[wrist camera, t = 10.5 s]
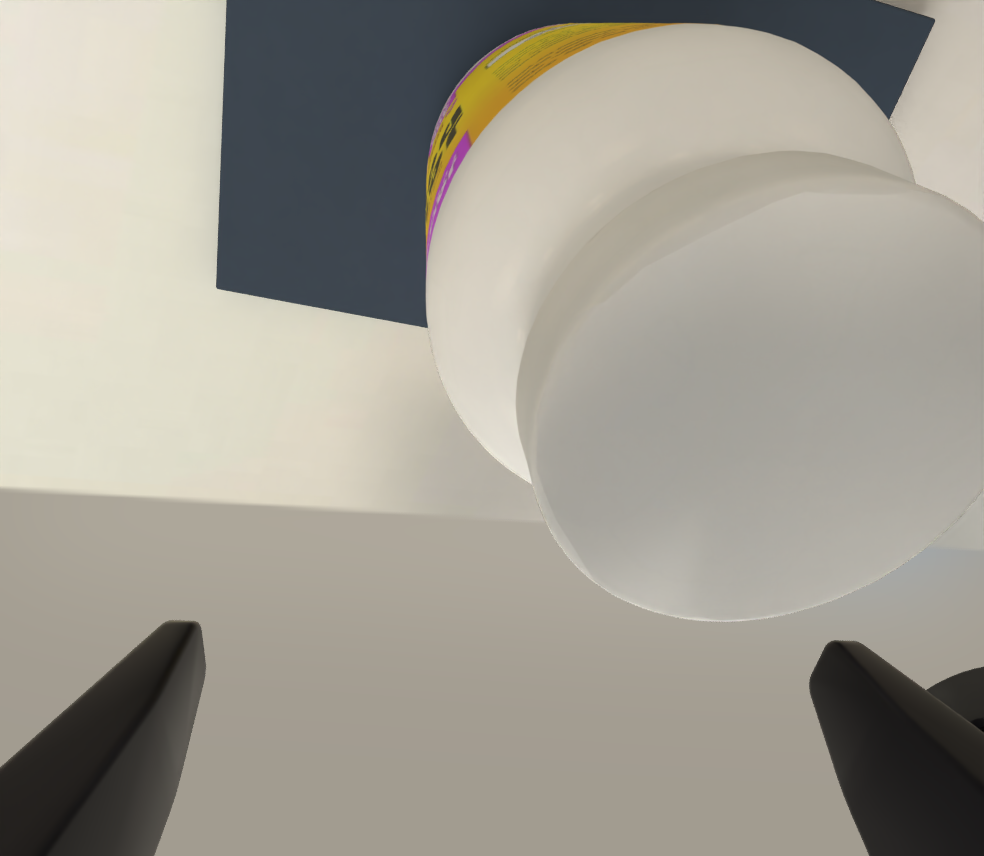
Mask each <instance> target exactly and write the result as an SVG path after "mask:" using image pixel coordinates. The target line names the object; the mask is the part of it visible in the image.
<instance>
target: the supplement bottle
mask: <svg viewBox="0 0 984 856" xmlns="http://www.w3.org/2000/svg"><path fill="white" fill-rule="evenodd" d="M425 211H426V316H427V324H428V332H429V338H430V343H431V348H432V353H433V356H434V360H435V363H436V366H437V370H438V373H439V375H440V378H441V381H442V384H443V386H444V388H445V390H446V393H447V395H448V397H449V399H450V401H451V403H452V405H453V407H454V408H455V410H456V412H457V413H458V415H459V416H460V418H461V419H462V421H463V422H464V424H465V425H466V427H467V428H468V429H469V431H470V432H471V433H472V435H473V436H474V437H475V438H476V439H477V440H478V441H479V442H480V444H481V445H482V446H483V447H484V448H485V449H486V450H487V451H488V452H489V453H490V454H491V455H492V456H493V457H494V458H495V459H496V460H498V461H499V462H500V463H501V464H503V465H504V466H505V467H506V468H508V469H509V470H510V471H512V472H513V473H515V474H516V475H518V476H519V477H521V478H522V479H524V480H525V481H527V482H529V483H530V484H532V485H533V489H534V493H535V496H536V499H537V502H538V505H539V508H540V510H541V512H542V515H543V517H544V519H545V522H546V524H547V526H548V528H549V530H550V532H551V534H552V536H553V537H554V539H555V541H556V542H557V543H558V545H559V546H560V547H561V549H562V550H563V551H564V553H565V554H566V555H567V557H568V558H569V559H570V560H571V561H572V562H573V564H574V565H575V566H576V567H577V568H578V569H579V570H580V571H581V572H583V573H584V574H585V575H586V576H587V577H588V578H589V579H590V580H591V581H593V582H594V583H596V584H597V585H599V586H600V587H602V588H603V589H605V590H606V591H608V592H609V593H610V594H612V595H614V596H616V597H618V598H620V599H622V600H624V601H626V602H628V603H631V604H633V605H636V606H639V607H641V608H644V609H646V610H650V611H653V612H656V613H660V614H664V615H669V616H673V617H677V618H682V619H690V620H698V621H709V622H711V621H713V622H714V621H715V622H736V621H747V620H758V619H765V618H771V617H777V616H782V615H787V614H791V613H795V612H798V611H802V610H805V609H808V608H811V607H815V606H818V605H821V604H824V603H828V602H830V601H833V600H835V599H837V598H840V597H842V596H845V595H847V594H849V593H851V592H854V591H856V590H858V589H860V588H863V587H865V586H867V585H869V584H871V583H873V582H876V581H878V580H879V579H881V578H883V577H884V576H886V575H887V574H889V573H891V572H892V571H893V570H895V569H897V568H899V567H900V566H902V565H903V564H904V563H906V562H907V561H909V560H910V559H912V558H913V557H914V556H916V555H917V554H918V553H920V552H921V551H923V550H924V549H925V548H926V547H928V546H929V545H930V544H931V543H932V542H933V541H934V540H936V539H937V538H938V537H939V536H940V535H941V534H943V533H944V532H945V531H946V530H947V529H948V528H950V527H951V526H952V525H953V524H954V523H955V522H956V521H957V520H958V519H959V518H960V517H961V516H962V514H963V513H964V512H965V511H966V510H967V509H968V508H969V507H970V505H971V504H972V503H973V502H974V501H975V500H976V498H977V497H978V496H979V494H980V493H981V492H982V490H983V489H984V222H983V221H981V220H980V219H979V218H978V217H977V216H975V215H974V214H973V213H972V212H971V211H969V210H968V209H966V208H965V207H963V206H961V205H960V204H958V203H956V202H955V201H953V200H951V199H950V198H948V197H946V196H944V195H942V194H939V193H937V192H934V191H932V190H929V189H927V188H925V187H922V186H920V185H917V184H916V183H915V179H914V175H913V171H912V168H911V166H910V163H909V160H908V158H907V155H906V152H905V150H904V147H903V145H902V143H901V141H900V139H899V137H898V135H897V133H896V131H895V130H894V128H893V126H892V125H891V123H890V122H889V120H888V119H887V117H886V116H885V114H884V113H883V112H882V111H881V109H880V108H879V107H878V106H877V104H876V103H875V102H874V101H873V100H872V98H871V97H870V96H869V95H868V94H867V93H866V92H865V91H864V90H863V89H862V88H861V87H860V85H859V84H858V83H857V82H856V81H854V80H853V79H852V78H851V77H850V76H848V75H847V74H846V73H845V72H844V71H842V70H841V69H840V68H839V67H837V66H836V65H834V64H833V63H831V62H830V61H828V60H827V59H825V58H823V57H822V56H820V55H818V54H817V53H815V52H813V51H811V50H809V49H807V48H806V47H804V46H802V45H800V44H798V43H796V42H794V41H791V40H788V39H785V38H782V37H779V36H776V35H773V34H770V33H766V32H762V31H757V30H753V29H747V28H741V27H734V26H724V25H718V24H698V23H568V24H557V25H551V26H545V27H541V28H537V29H533V30H530V31H527V32H525V33H522V34H520V35H517V36H515V37H513V38H512V39H510V40H508V41H506V42H504V43H503V44H501V45H499V46H498V47H496V48H495V49H493V50H492V51H490V52H489V53H488V54H487V55H485V56H484V57H483V58H482V59H480V60H479V61H478V62H477V63H476V64H475V65H474V66H473V67H472V68H471V69H470V70H469V71H468V72H467V73H466V75H465V76H464V77H463V78H462V79H461V81H460V82H459V83H458V84H457V86H456V87H455V89H454V90H453V92H452V93H451V95H450V97H449V98H448V100H447V102H446V104H445V106H444V108H443V110H442V112H441V114H440V116H439V119H438V121H437V124H436V126H435V130H434V133H433V136H432V140H431V144H430V150H429V156H428V163H427V178H426V209H425Z"/></svg>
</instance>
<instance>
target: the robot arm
mask: <svg viewBox="0 0 984 856" xmlns="http://www.w3.org/2000/svg"><path fill="white" fill-rule="evenodd" d="M205 670H206V663H205V654H204V646H203V638H202V630H201V627H200V625H199V623H198V622H196V621H181V620H169V621H167V622H165V623H163V624H162V625H161V626H160V627H158V628H157V629H156V630H155V631H154V632H153V633H151V635H150V636H148V637H147V638H146V639H145V640H144V641H142V642H141V643H140V644H139V645H138V646H137V647H136V648H135V649H133V650H132V651H131V652H130V653H129V654H128V655H127V656H126V657H124V658H123V659H122V660H121V661H120V662H119V663H118V664H116V665H115V666H114V667H113V668H112V669H111V670H110V671H109V672H107V673H106V674H105V675H104V676H103V677H102V678H101V679H100V680H98V681H97V682H96V683H95V684H94V685H93V686H92V687H90V688H89V689H88V690H87V691H86V692H85V693H84V694H83V695H81V696H80V697H79V698H78V699H77V700H76V701H75V702H74V703H72V705H70V706H69V707H68V708H67V709H66V710H65V711H63V712H62V713H61V714H60V715H59V716H58V717H57V718H56V719H54V720H53V721H52V722H51V723H50V724H49V725H48V726H47V727H45V728H44V729H43V730H42V731H41V732H40V733H39V734H37V735H36V736H35V737H34V738H33V739H32V740H31V741H30V742H28V743H27V744H26V745H25V746H24V747H23V748H22V749H21V750H20V751H18V752H17V753H16V754H15V755H14V756H13V757H11V758H10V759H9V760H8V761H7V762H6V763H5V764H4V765H2V766H1V767H0V856H154V855H155V852H156V849H157V846H158V844H159V841H160V838H161V836H162V833H163V830H164V827H165V825H166V822H167V819H168V816H169V814H170V811H171V808H172V804H173V802H174V799H175V796H176V792H177V788H178V785H179V781H180V777H181V773H182V769H183V765H184V761H185V757H186V753H187V749H188V745H189V741H190V736H191V733H192V728H193V724H194V720H195V716H196V712H197V708H198V704H199V700H200V696H201V692H202V688H203V684H204V679H205ZM809 689H810V694H811V698H812V701H813V704H814V707H815V710H816V713H817V716H818V719H819V723H820V726H821V729H822V732H823V735H824V738H825V741H826V744H827V747H828V750H829V753H830V756H831V760H832V763H833V765H834V769H835V772H836V775H837V778H838V781H839V784H840V786H841V789H842V792H843V795H844V797H845V800H846V802H847V805H848V807H849V810H850V812H851V815H852V817H853V819H854V822H855V824H856V826H857V828H858V831H859V833H860V835H861V838H862V840H863V842H864V844H865V847H866V849H867V852H868V854H869V856H984V718H977V719H974V720H972V721H970V722H969V721H967V720H966V719H965V718H963V717H962V716H961V715H959V714H958V713H956V712H955V711H954V710H952V709H951V708H950V707H948V706H947V705H945V704H944V703H943V702H941V701H940V700H939V699H937V698H936V697H934V696H933V695H932V694H930V693H929V692H928V691H926V690H925V689H923V688H922V687H921V686H919V685H918V684H917V683H915V682H914V681H913V680H911V679H910V678H908V677H907V676H906V675H904V674H903V673H902V672H900V671H899V670H897V669H896V668H895V667H893V666H892V665H890V664H889V663H888V662H886V661H885V660H884V659H882V658H881V657H879V656H878V655H877V654H875V653H874V652H873V651H871V650H870V649H868V648H867V647H866V646H864V645H863V644H861V643H859V642H856V641H838V640H834V641H831V642H829V643H828V644H827V645H826V646H825V648H824V650H823V652H822V654H821V656H820V658H819V660H818V662H817V665H816V667H815V668H814V671H813V672H812V674H811V677H810V682H809Z"/></svg>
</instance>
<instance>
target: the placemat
mask: <svg viewBox="0 0 984 856" xmlns="http://www.w3.org/2000/svg"><path fill="white" fill-rule="evenodd" d="M568 23H698V24H718V25H724V26H734V27H741V28H747V29H753V30H757V31H762V32H766V33H770V34H773V35H776V36H779V37H782V38H785V39H788V40H791V41H794V42H796V43H798V44H800V45H802V46H804V47H806V48H807V49H809V50H811V51H813V52H815V53H817V54H818V55H820V56H822V57H823V58H825V59H827V60H828V61H830V62H831V63H833V64H834V65H836V66H837V67H839V68H840V69H841V70H842V71H844V72H845V73H846V74H847V75H848V76H850V77H851V78H852V79H853V80H854V81H856V82H857V83H858V84H859V85H860V87H861V88H862V89H863V90H864V91H865V92H866V93H867V94H868V95H869V96H870V97H871V98H872V100H873V101H874V102H875V103H876V104H877V106H878V107H879V108H880V109H881V111H882V112H883V113H884V114H885V116H886V117H887V119H888V120H889V119H890V116H891V114H892V112H893V110H894V108H895V106H896V104H897V102H898V99H899V97H900V95H901V93H902V91H903V89H904V87H905V84H906V82H907V80H908V78H909V76H910V74H911V72H912V70H913V67H914V65H915V63H916V61H917V59H918V57H919V55H920V52H921V50H922V48H923V46H924V44H925V42H926V40H927V38H928V35H929V33H930V31H931V29H932V27H933V25H934V23H935V19H933V18H930V17H927V16H924V15H920V14H917V13H914V12H911V11H907V10H904V9H901V8H898V7H894V6H891V5H888V4H885V3H881V2H878V1H875V0H227V7H226V34H225V61H224V89H223V116H222V143H221V170H220V197H219V224H218V251H217V279H216V287H217V289H221V290H226V291H232V292H237V293H242V294H248V295H253V296H259V297H264V298H269V299H275V300H280V301H285V302H291V303H296V304H302V305H307V306H312V307H318V308H323V309H329V310H334V311H339V312H345V313H350V314H355V315H361V316H366V317H372V318H377V319H382V320H388V321H393V322H399V323H404V324H409V325H415V326H420V327H425V328H428V324H427V316H426V211H425V209H426V178H427V163H428V156H429V150H430V144H431V140H432V136H433V133H434V130H435V126H436V124H437V121H438V119H439V116H440V114H441V112H442V110H443V108H444V106H445V104H446V102H447V100H448V98H449V97H450V95H451V93H452V92H453V90H454V89H455V87H456V86H457V84H458V83H459V82H460V81H461V79H462V78H463V77H464V76H465V75H466V73H467V72H468V71H469V70H470V69H471V68H472V67H473V66H474V65H475V64H476V63H477V62H478V61H479V60H480V59H482V58H483V57H484V56H485V55H487V54H488V53H489V52H490V51H492V50H493V49H495V48H496V47H498V46H499V45H501V44H503V43H504V42H506V41H508V40H510V39H512V38H513V37H515V36H517V35H520V34H522V33H525V32H527V31H530V30H533V29H537V28H541V27H545V26H551V25H557V24H568Z"/></svg>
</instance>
